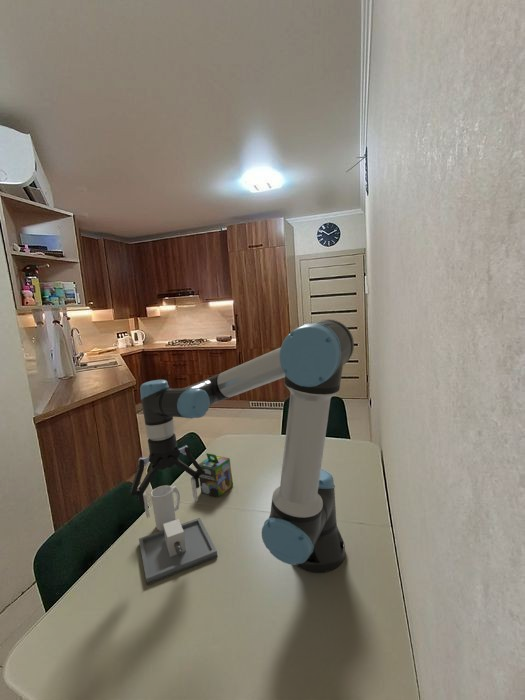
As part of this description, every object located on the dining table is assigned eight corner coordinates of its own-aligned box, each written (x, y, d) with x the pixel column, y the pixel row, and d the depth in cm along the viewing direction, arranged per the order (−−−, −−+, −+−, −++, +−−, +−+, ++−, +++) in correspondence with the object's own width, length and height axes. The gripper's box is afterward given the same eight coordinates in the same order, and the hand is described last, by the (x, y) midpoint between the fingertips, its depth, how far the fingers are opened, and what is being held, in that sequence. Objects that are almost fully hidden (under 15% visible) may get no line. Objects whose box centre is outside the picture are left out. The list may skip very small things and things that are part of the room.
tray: (217, 556, 97) (216, 550, 97) (147, 585, 89) (146, 578, 89) (200, 522, 113) (199, 517, 113) (139, 544, 105) (138, 538, 105)
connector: (190, 561, 95) (187, 541, 94) (173, 568, 93) (170, 547, 92) (179, 531, 108) (176, 513, 107) (164, 536, 106) (161, 518, 106)
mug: (164, 534, 109) (159, 498, 107) (151, 527, 113) (146, 493, 111) (188, 517, 117) (184, 483, 115) (175, 511, 121) (171, 479, 119)
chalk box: (233, 486, 134) (229, 449, 132) (218, 498, 127) (214, 460, 125) (215, 481, 139) (211, 446, 137) (200, 492, 132) (195, 455, 130)
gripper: (201, 421, 105) (210, 487, 107) (112, 443, 95) (125, 515, 97) (208, 428, 98) (217, 498, 101) (113, 452, 88) (127, 529, 90)
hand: (172, 506), depth 99 cm, fingers open, 13 cm apart
